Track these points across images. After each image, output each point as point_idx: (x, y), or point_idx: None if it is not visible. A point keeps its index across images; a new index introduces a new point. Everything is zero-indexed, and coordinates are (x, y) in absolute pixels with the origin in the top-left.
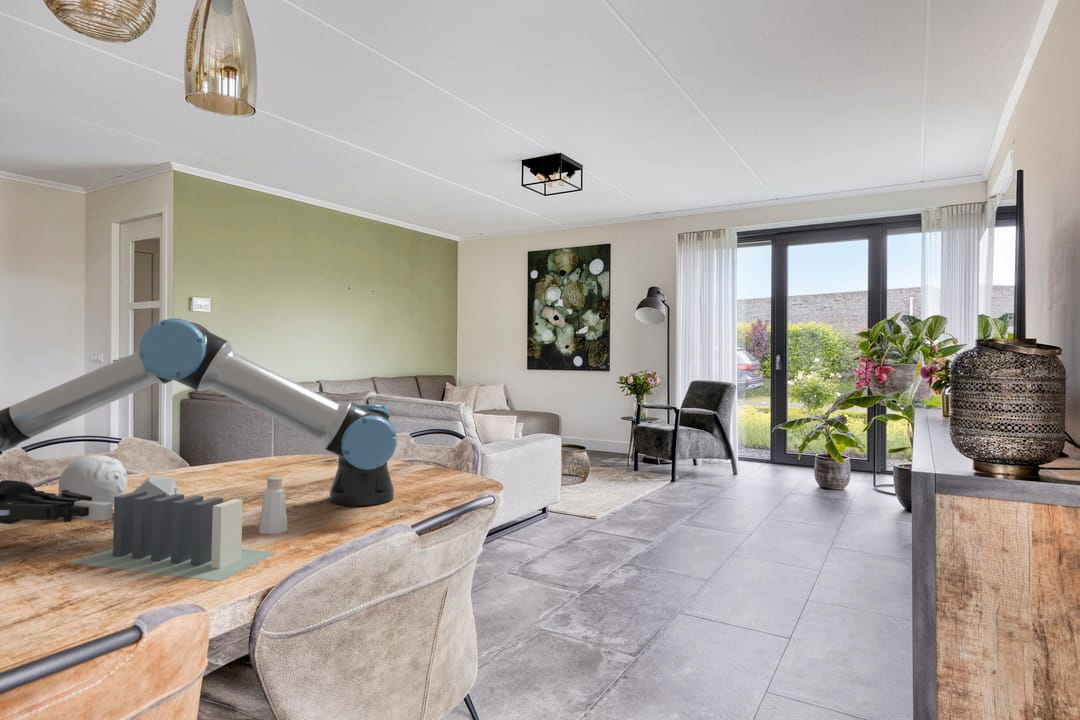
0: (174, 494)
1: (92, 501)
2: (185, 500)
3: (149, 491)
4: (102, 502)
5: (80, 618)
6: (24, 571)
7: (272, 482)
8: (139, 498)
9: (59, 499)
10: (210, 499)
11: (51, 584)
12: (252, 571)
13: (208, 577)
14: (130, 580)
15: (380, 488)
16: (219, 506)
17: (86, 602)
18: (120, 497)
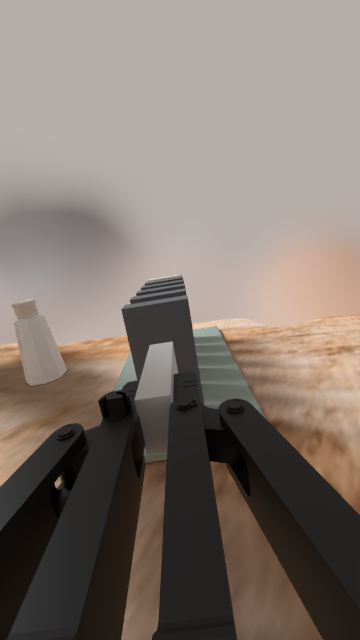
0: (140, 292)
1: (146, 372)
2: (169, 282)
3: None
4: (151, 355)
5: (332, 331)
6: None
7: (35, 304)
8: (181, 290)
9: (106, 523)
10: (156, 281)
11: (333, 396)
12: None
13: (214, 331)
14: (251, 360)
15: None
16: (181, 274)
17: (315, 346)
18: (186, 295)
